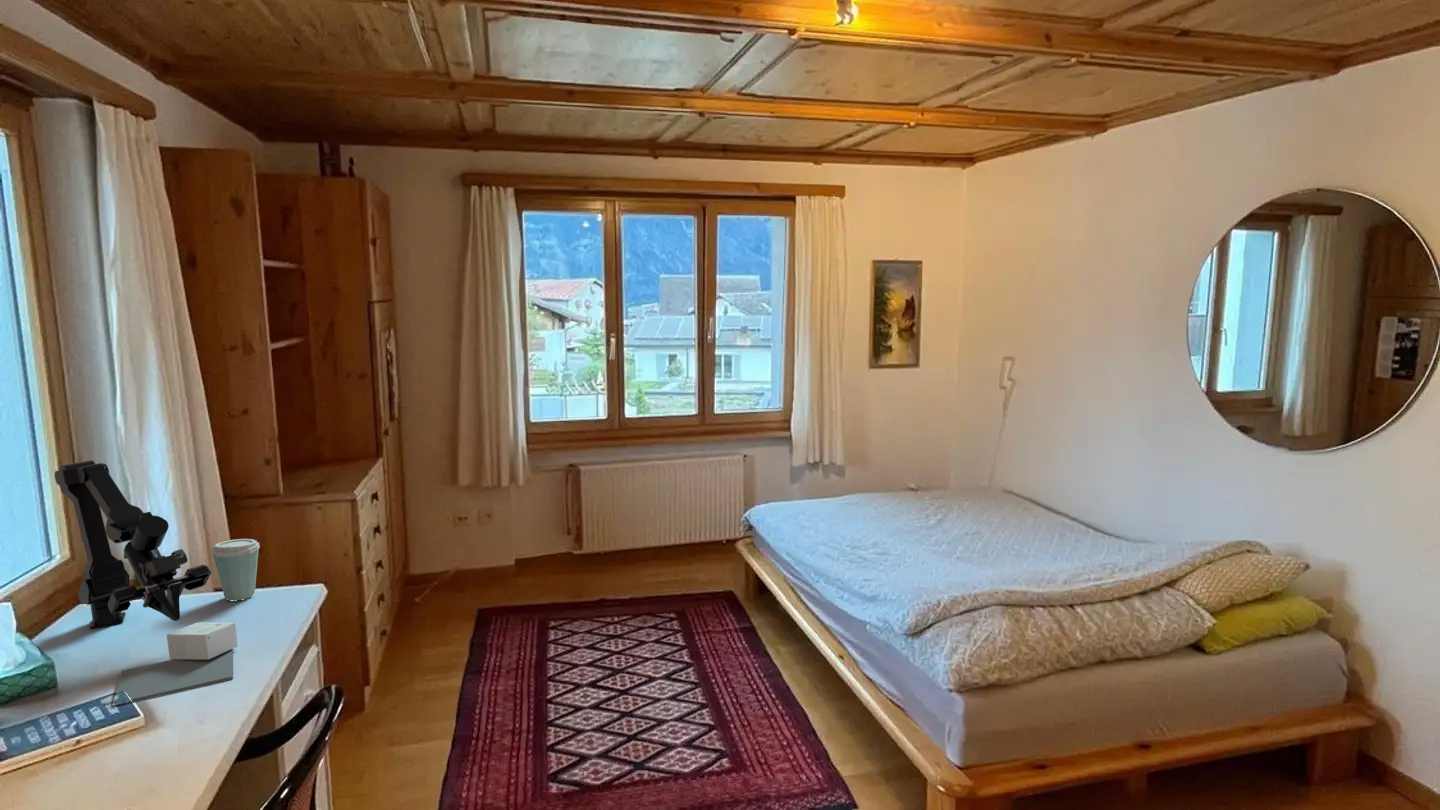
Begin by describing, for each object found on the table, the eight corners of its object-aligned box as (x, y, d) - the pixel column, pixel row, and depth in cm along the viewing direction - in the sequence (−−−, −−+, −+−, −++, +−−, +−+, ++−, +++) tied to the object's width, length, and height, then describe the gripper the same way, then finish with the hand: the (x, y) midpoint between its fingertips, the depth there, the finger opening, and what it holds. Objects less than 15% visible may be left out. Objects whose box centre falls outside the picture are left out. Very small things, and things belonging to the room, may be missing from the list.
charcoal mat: (122, 672, 170) (121, 670, 170) (232, 649, 180) (232, 646, 180) (112, 706, 156) (112, 703, 156) (233, 678, 166) (232, 676, 166)
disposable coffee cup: (229, 590, 215) (223, 536, 213) (272, 588, 216) (266, 534, 214) (209, 606, 204) (202, 549, 202) (254, 603, 206) (247, 547, 203)
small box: (168, 659, 174) (207, 660, 172) (165, 634, 174) (204, 634, 171) (200, 646, 182) (238, 647, 180) (198, 621, 182) (236, 622, 179)
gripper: (106, 554, 168) (137, 615, 164) (202, 530, 183) (233, 585, 179) (94, 583, 173) (125, 643, 169) (188, 557, 189) (218, 611, 185)
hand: (177, 619), depth 176 cm, fingers closed
